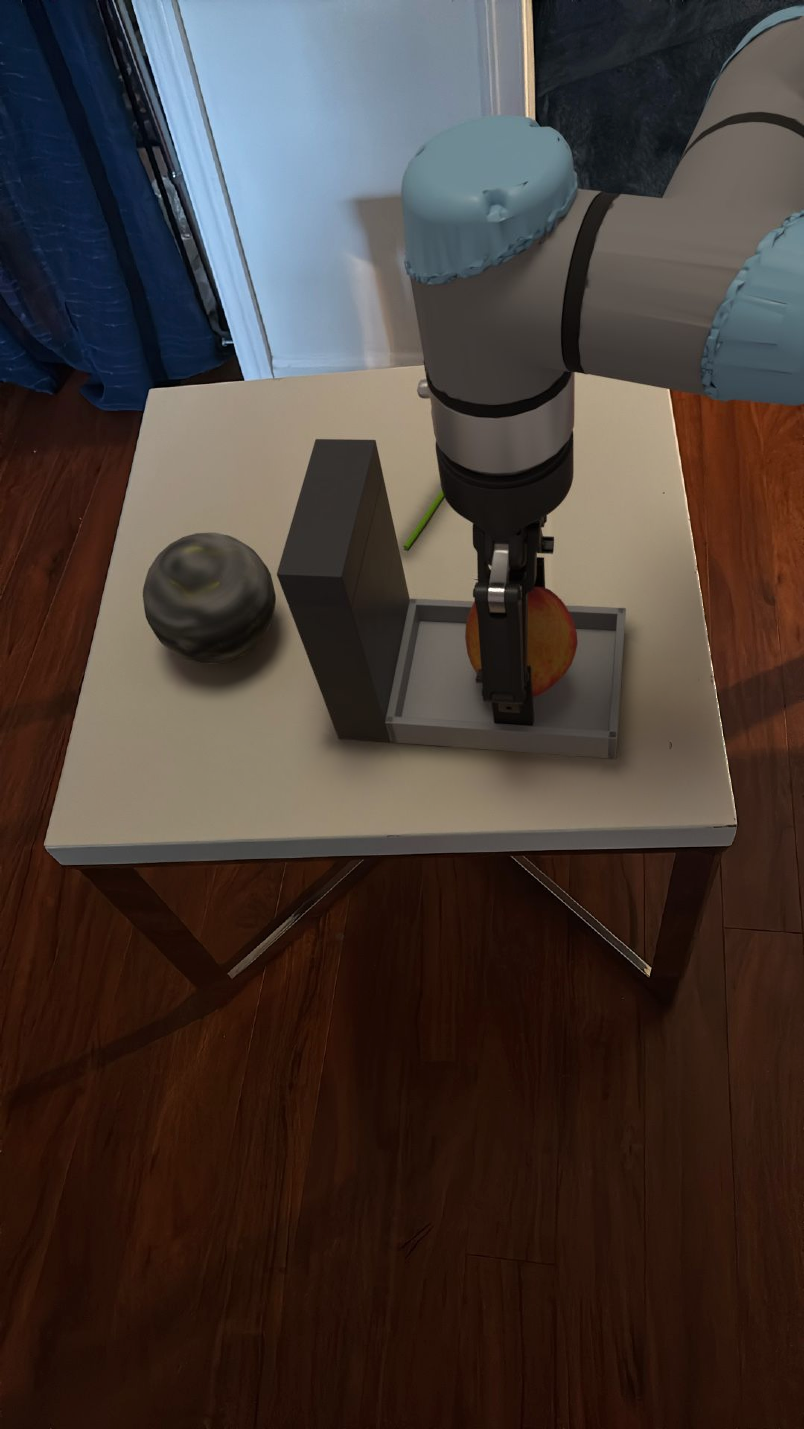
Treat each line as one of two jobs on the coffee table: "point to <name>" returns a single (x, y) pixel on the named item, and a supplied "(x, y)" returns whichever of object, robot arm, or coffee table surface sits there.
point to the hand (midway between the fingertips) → (521, 668)
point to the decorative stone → (209, 598)
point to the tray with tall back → (419, 631)
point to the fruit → (537, 639)
